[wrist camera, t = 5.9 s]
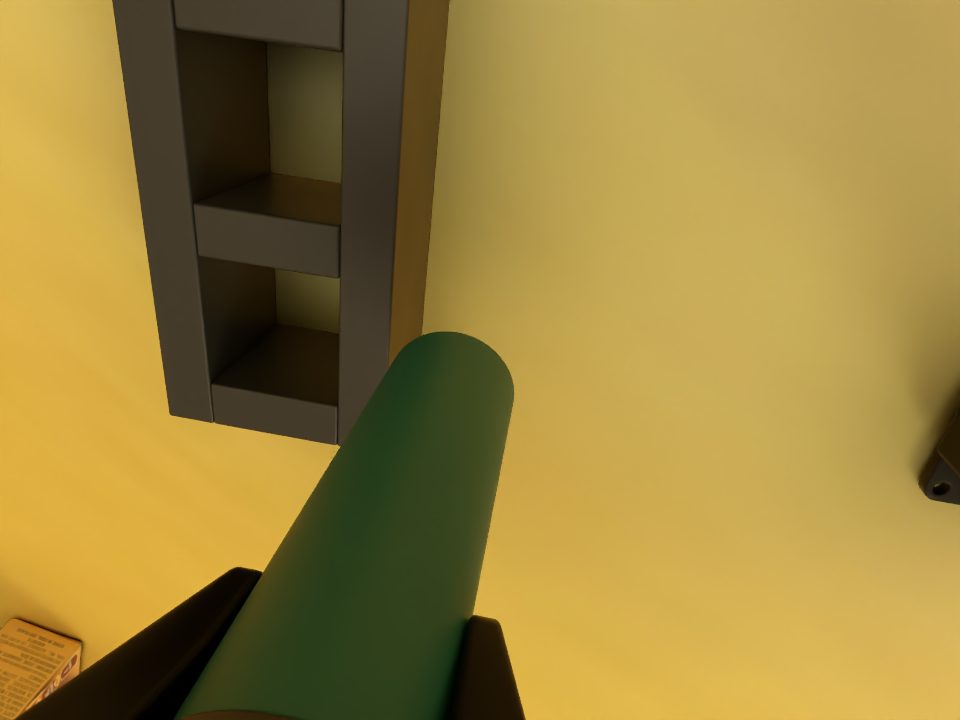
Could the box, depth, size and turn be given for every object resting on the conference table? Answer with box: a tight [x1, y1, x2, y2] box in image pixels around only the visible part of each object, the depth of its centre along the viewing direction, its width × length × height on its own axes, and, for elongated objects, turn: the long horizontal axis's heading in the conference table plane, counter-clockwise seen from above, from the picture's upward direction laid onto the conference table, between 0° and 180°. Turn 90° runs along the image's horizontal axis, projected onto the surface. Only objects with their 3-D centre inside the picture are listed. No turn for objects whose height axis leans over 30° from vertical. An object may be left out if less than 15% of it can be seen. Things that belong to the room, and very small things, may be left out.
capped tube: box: [173, 332, 514, 720], centre depth 10 cm, size 3×3×10 cm
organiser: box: [112, 0, 449, 446], centre depth 16 cm, size 7×17×4 cm, turn 174°
